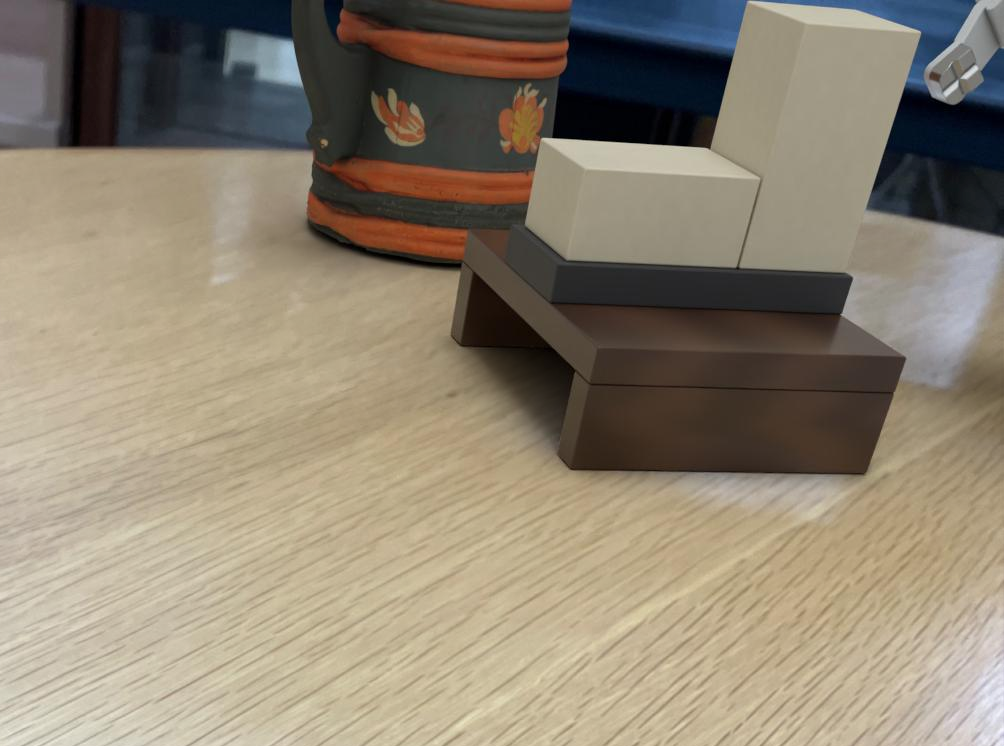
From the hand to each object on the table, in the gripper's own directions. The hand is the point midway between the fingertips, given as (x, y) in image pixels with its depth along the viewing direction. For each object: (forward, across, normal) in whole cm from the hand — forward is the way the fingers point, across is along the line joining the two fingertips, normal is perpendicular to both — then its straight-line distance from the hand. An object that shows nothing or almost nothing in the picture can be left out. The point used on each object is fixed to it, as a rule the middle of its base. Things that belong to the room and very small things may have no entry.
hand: (989, 113), depth 67 cm
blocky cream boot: (+15, -1, +4) cm, 15 cm away
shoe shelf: (+18, -1, +1) cm, 18 cm away
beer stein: (+22, +26, +4) cm, 35 cm away
